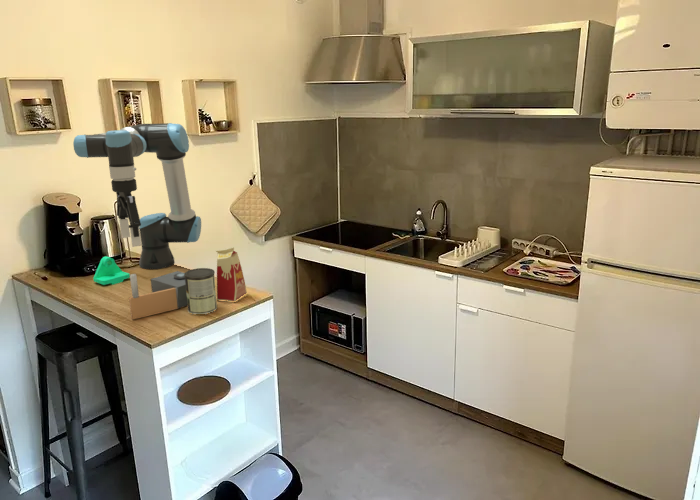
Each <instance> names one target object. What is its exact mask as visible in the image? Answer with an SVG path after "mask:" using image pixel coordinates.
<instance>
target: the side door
mask: <svg viewBox="0 0 700 500" xmlns="http://www.w3.org/2000/svg"><path fill="white" fill-rule="evenodd" d="M129 274H130V273H129ZM129 279H130V287H131V294H132V295H131V296H130V297H128V302H129V310H130V318H131V320H138V319H140V318H145V317H148V316H152V315H153V316H154V315H157V314H160V313H165V312H169V311H173V310H178V309H180V308H179V299H178V289H177V287H175V288H171V289H166V290H161V291H157V292H152V291H151V292H148V293H144V294H139V286H138V278H137V273H131V274H130V278H129Z"/></svg>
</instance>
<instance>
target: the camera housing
mask: <svg viewBox="0 0 700 500" xmlns="http://www.w3.org/2000/svg"><path fill="white" fill-rule="evenodd" d="M184 273H185V272H182V271H178V270H176V271H172V272H169V273H166V274H164V275H159V276H157V277H152V278H150V284H151V293H152V292H157V291H161V290H166V289H171V288H175V287H177V289H178V299H179V308H178V309H181V307H182V308H184V307H188V305H187V294H186V284H185V276H184Z"/></svg>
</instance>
